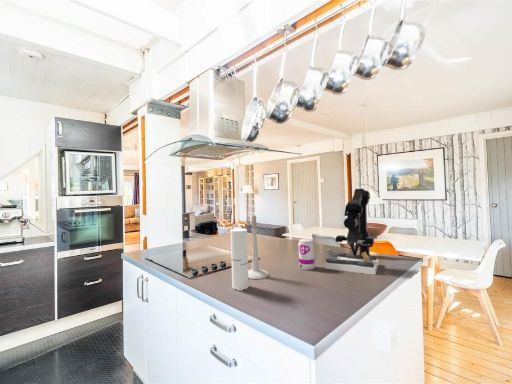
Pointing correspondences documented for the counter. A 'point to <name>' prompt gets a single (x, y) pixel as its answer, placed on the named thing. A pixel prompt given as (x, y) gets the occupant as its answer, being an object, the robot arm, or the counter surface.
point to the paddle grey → (330, 253)
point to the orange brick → (365, 256)
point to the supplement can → (306, 254)
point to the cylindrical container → (239, 259)
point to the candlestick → (255, 256)
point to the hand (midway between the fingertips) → (354, 255)
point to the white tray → (352, 267)
